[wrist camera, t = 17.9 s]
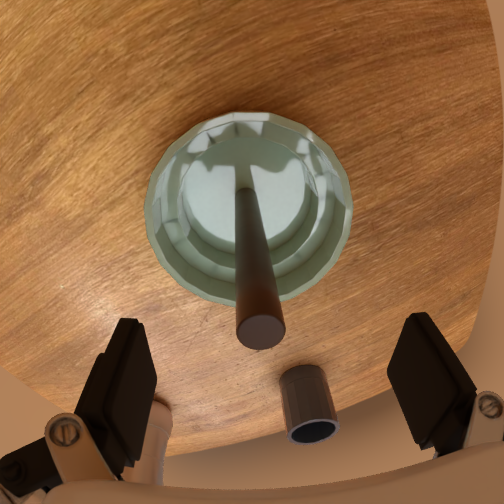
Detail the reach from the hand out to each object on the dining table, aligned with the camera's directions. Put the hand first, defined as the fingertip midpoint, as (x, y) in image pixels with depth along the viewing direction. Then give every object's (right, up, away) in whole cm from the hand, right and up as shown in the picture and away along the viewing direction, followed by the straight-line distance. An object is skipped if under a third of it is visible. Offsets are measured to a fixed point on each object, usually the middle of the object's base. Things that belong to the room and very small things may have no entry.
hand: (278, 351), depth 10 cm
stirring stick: (-1, +8, +15) cm, 17 cm away
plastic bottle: (-15, -18, +28) cm, 36 cm away
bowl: (-1, +8, +15) cm, 17 cm away
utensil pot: (+5, -12, +26) cm, 29 cm away
